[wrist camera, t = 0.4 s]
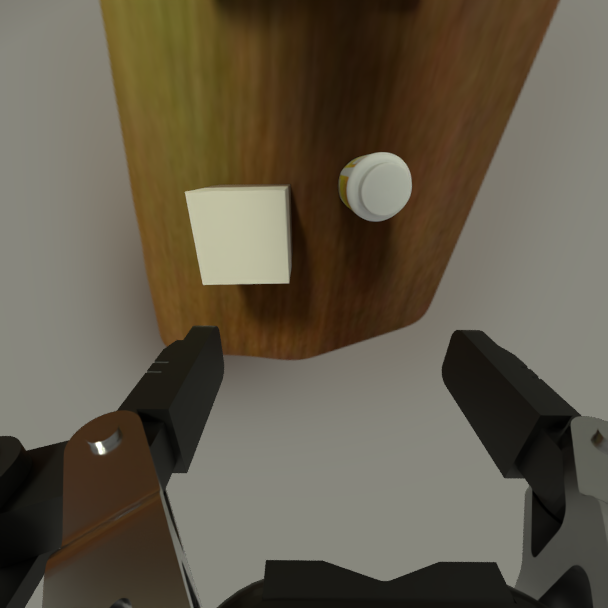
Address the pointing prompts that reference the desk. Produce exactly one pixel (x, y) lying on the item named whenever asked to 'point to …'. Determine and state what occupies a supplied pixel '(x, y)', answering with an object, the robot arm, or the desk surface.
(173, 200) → the desk surface
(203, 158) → the desk surface
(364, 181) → the supplement bottle
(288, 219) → the tower top
